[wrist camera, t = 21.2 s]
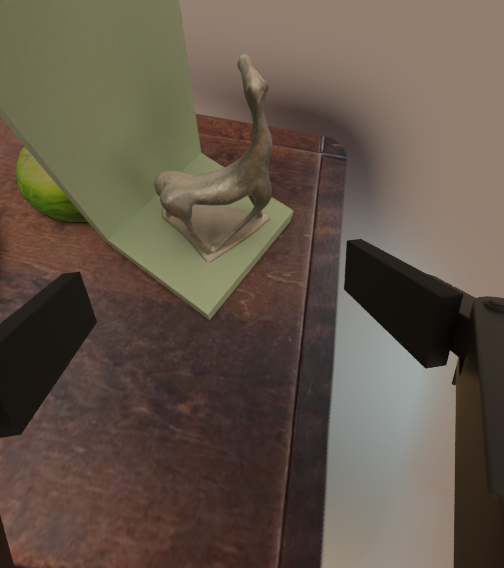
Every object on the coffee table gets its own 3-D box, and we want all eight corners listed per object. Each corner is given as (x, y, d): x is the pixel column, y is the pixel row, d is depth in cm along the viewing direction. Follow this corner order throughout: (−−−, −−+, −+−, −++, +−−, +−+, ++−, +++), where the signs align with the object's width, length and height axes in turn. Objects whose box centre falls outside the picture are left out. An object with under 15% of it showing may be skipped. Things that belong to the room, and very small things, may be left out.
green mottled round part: (126, 135, 36) (109, 96, 31) (149, 205, 32) (134, 173, 27) (26, 161, 34) (-8, 123, 29) (40, 238, 30) (3, 209, 25)
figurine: (150, 256, 28) (62, 110, 14) (164, 200, 30) (102, 27, 16) (265, 269, 28) (294, 138, 14) (270, 212, 30) (300, 51, 16)
